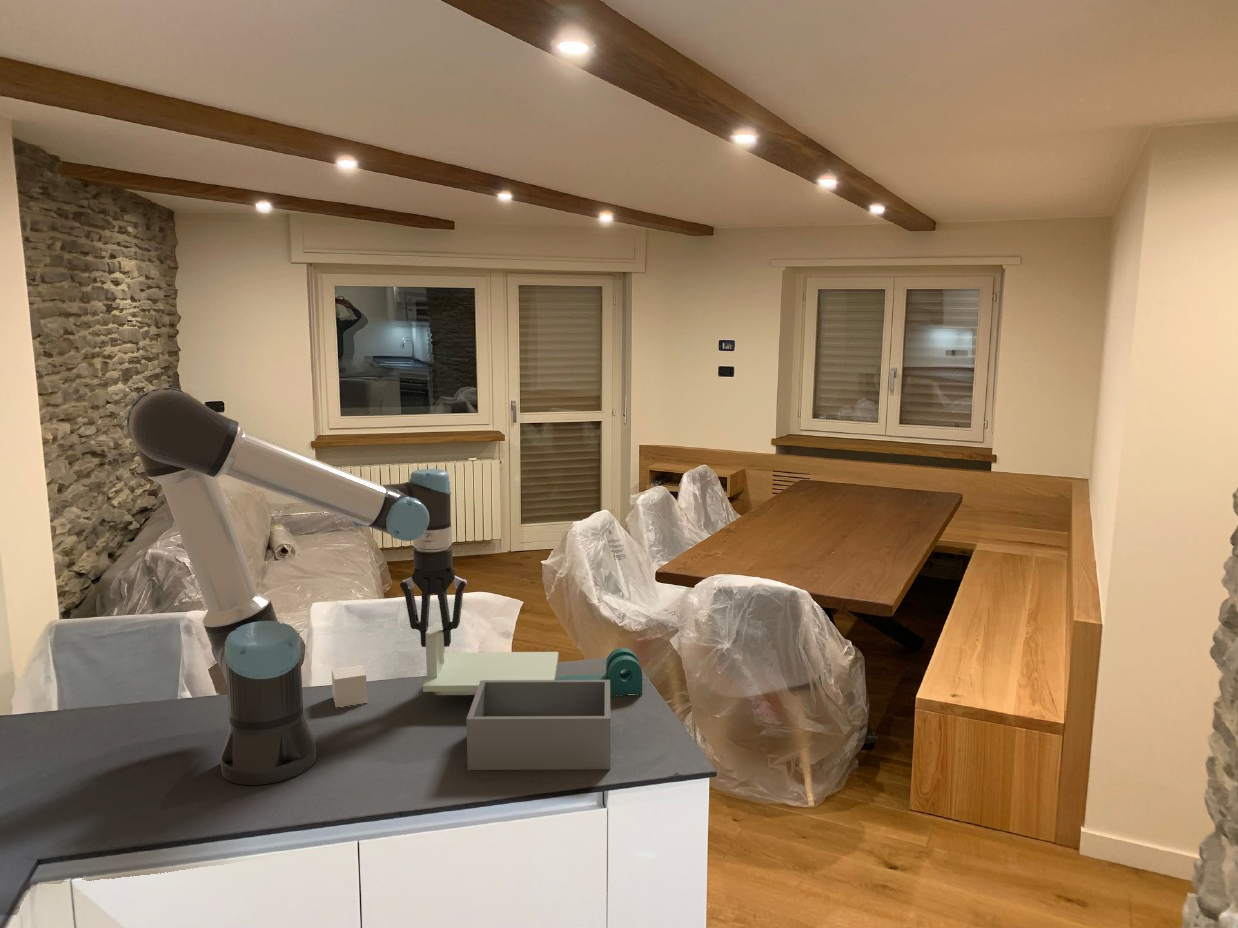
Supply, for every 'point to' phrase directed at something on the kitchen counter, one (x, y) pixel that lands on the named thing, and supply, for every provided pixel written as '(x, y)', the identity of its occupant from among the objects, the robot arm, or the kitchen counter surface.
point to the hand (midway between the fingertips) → (436, 661)
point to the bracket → (618, 673)
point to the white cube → (349, 686)
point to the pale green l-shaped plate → (481, 667)
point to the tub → (539, 725)
